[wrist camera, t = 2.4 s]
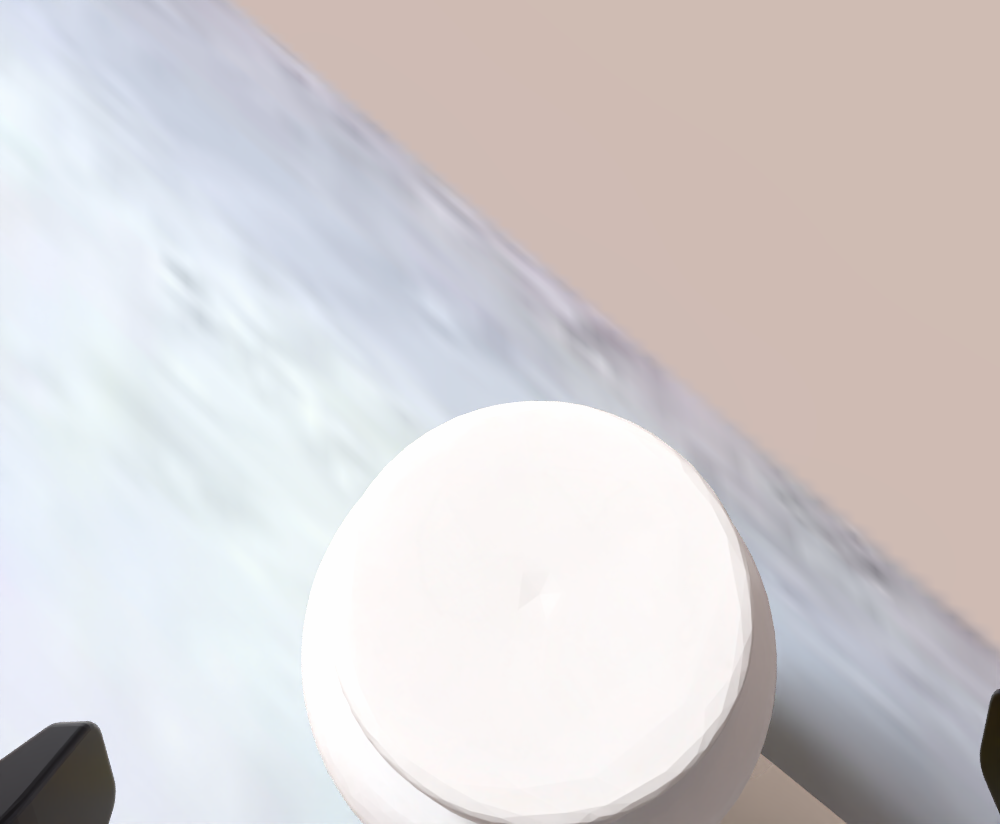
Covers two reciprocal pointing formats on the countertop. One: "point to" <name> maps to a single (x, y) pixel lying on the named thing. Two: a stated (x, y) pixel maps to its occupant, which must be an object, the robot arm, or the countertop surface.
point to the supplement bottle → (539, 631)
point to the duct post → (777, 800)
